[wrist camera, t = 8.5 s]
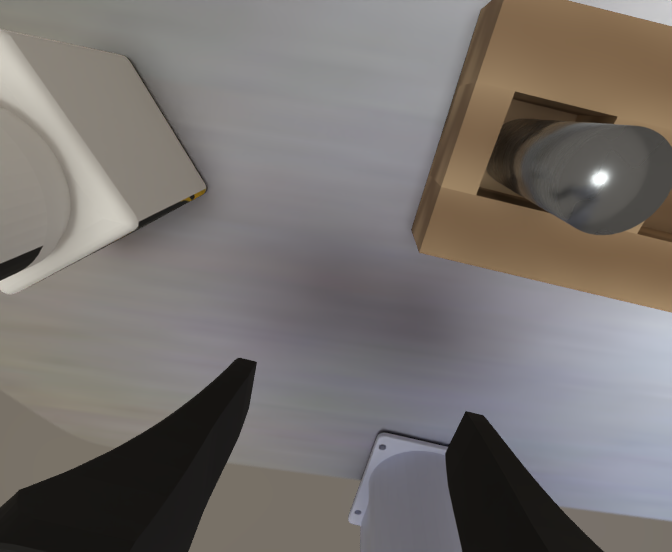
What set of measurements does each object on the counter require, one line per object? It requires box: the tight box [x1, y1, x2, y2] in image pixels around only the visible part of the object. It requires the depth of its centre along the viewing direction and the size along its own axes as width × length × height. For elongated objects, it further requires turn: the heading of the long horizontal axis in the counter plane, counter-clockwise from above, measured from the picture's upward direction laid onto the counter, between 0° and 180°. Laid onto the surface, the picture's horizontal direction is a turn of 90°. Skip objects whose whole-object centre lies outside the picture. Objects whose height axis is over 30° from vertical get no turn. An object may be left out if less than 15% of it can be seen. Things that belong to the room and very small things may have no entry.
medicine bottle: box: [0, 29, 206, 294], centre depth 15 cm, size 7×7×12 cm
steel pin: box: [486, 118, 672, 235], centre depth 14 cm, size 3×3×8 cm
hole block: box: [411, 0, 672, 312], centre depth 17 cm, size 10×14×4 cm
